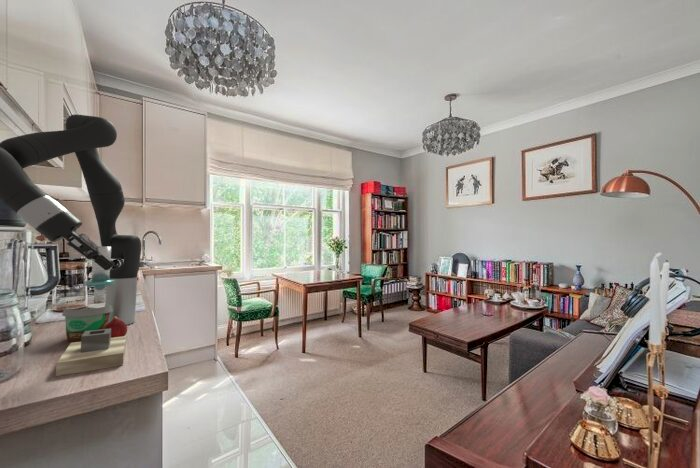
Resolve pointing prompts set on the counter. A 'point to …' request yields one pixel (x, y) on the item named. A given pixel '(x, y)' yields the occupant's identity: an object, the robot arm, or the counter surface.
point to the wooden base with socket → (92, 353)
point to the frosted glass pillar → (100, 276)
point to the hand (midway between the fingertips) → (111, 267)
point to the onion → (117, 328)
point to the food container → (84, 321)
